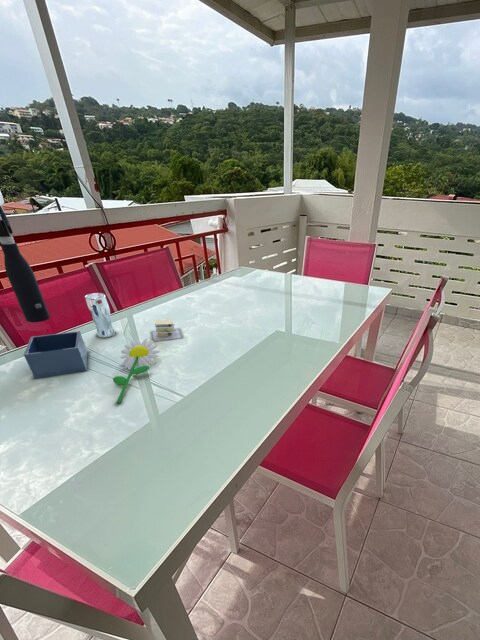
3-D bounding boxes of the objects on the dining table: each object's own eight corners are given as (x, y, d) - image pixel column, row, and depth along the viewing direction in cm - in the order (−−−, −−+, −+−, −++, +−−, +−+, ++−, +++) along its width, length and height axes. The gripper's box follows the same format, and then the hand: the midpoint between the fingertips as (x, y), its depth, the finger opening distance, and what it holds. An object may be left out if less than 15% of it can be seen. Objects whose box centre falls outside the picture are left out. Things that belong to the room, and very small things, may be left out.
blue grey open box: (34, 378, 100) (23, 355, 95) (40, 359, 109) (30, 336, 105) (86, 370, 105) (78, 347, 100) (87, 352, 115) (79, 331, 110)
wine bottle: (33, 315, 108) (-10, 210, 92) (54, 315, 109) (15, 212, 92) (21, 322, 103) (-26, 213, 86) (44, 322, 104) (1, 214, 87)
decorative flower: (144, 408, 94) (164, 349, 116) (139, 396, 90) (160, 337, 112) (98, 411, 93) (127, 351, 115) (91, 399, 89) (122, 339, 111)
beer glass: (106, 339, 124) (94, 300, 115) (92, 336, 126) (79, 296, 117) (120, 332, 129) (110, 294, 121) (106, 329, 131) (95, 291, 123)
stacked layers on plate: (154, 341, 125) (151, 327, 122) (152, 332, 131) (149, 318, 128) (181, 337, 128) (179, 324, 125) (178, 329, 135) (176, 316, 132)
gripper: (-38, 153, 87) (-6, 230, 97) (-60, 152, 75) (-20, 240, 85) (-3, 155, 90) (25, 230, 100) (-17, 155, 78) (16, 240, 88)
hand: (4, 234), depth 92 cm, fingers closed on wine bottle, 3 cm apart
